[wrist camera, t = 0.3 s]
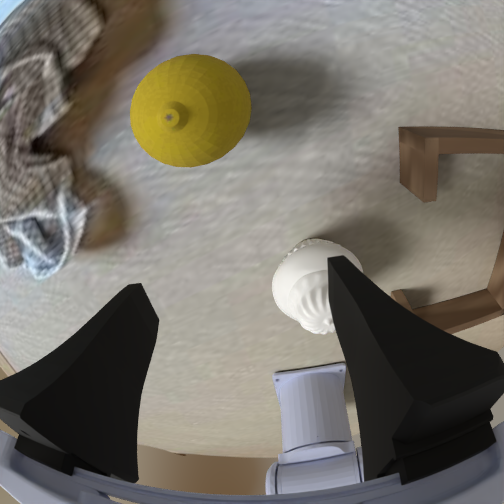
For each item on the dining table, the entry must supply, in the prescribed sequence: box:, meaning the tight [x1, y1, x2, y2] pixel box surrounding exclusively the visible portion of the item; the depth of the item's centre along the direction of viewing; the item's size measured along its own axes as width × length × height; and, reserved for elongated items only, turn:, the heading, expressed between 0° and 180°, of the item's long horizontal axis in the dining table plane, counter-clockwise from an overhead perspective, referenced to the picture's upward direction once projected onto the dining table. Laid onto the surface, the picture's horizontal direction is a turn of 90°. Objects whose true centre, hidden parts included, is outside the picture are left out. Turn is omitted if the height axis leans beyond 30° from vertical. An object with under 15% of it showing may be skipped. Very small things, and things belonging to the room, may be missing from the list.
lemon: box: [130, 54, 252, 167], centre depth 12 cm, size 6×6×8 cm
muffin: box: [272, 238, 364, 334], centre depth 18 cm, size 6×6×7 cm
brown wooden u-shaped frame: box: [391, 127, 504, 334], centre depth 18 cm, size 18×14×4 cm
